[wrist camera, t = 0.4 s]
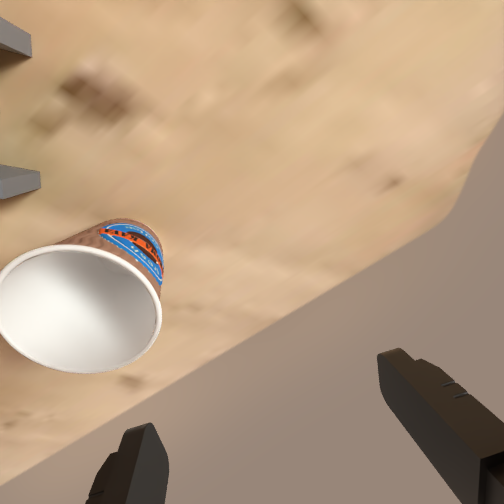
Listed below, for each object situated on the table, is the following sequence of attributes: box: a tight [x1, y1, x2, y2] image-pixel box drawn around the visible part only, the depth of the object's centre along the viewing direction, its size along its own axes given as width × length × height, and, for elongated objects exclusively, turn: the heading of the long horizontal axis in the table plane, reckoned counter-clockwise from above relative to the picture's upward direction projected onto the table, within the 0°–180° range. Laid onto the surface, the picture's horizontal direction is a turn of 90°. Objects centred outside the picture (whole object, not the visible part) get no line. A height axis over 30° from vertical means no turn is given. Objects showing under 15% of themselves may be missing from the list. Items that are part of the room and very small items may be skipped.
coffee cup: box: [0, 218, 164, 374], centre depth 23 cm, size 10×10×12 cm
